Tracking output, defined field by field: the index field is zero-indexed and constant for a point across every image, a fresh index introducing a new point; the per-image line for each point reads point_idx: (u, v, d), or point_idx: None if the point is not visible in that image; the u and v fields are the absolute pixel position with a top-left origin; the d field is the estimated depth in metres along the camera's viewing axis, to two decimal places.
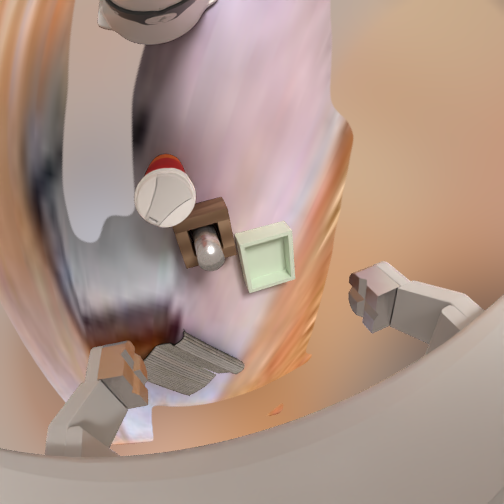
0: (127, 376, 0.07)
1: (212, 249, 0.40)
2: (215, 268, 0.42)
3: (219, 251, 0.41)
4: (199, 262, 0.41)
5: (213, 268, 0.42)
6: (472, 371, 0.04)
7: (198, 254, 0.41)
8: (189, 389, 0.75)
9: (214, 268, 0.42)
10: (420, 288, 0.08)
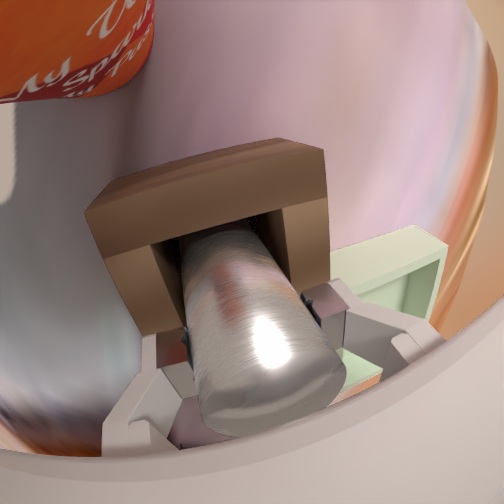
0: (190, 362, 0.07)
1: (293, 360, 0.06)
2: None
3: (330, 361, 0.06)
4: (210, 420, 0.06)
5: None
6: (472, 371, 0.04)
7: (201, 380, 0.06)
8: None
9: None
10: (372, 311, 0.07)
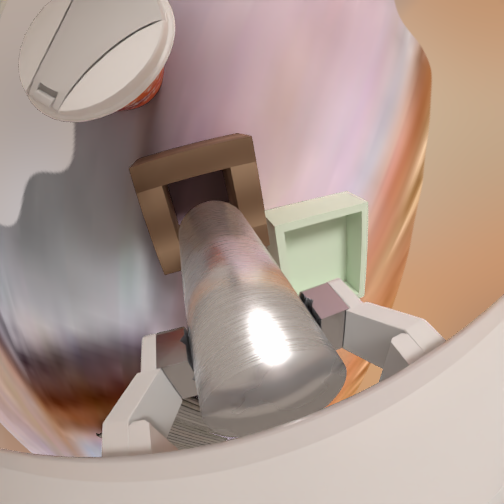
0: (190, 362, 0.07)
1: (292, 360, 0.06)
2: None
3: (330, 361, 0.06)
4: (210, 419, 0.06)
5: None
6: (472, 371, 0.04)
7: (201, 379, 0.06)
8: None
9: None
10: (372, 311, 0.07)
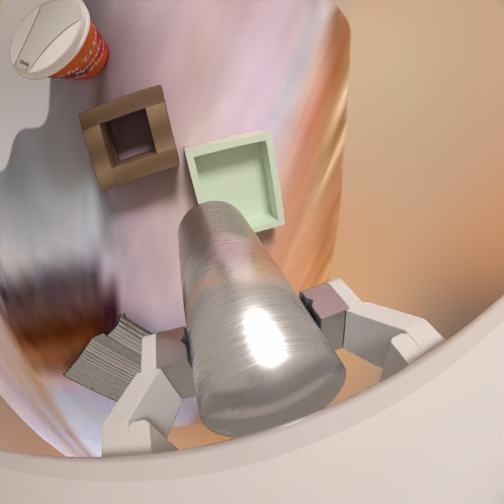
0: (190, 362, 0.07)
1: (291, 361, 0.06)
2: None
3: (329, 362, 0.06)
4: (208, 420, 0.06)
5: None
6: (472, 371, 0.04)
7: (200, 380, 0.06)
8: None
9: None
10: (372, 311, 0.07)
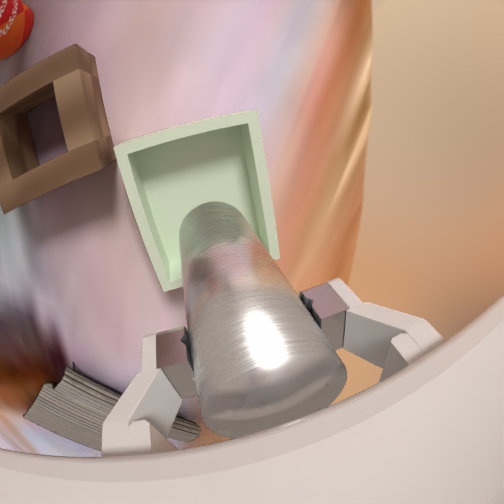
0: (190, 362, 0.07)
1: (293, 362, 0.06)
2: None
3: (331, 363, 0.06)
4: (210, 421, 0.06)
5: None
6: (472, 371, 0.04)
7: (202, 381, 0.06)
8: None
9: None
10: (372, 311, 0.07)
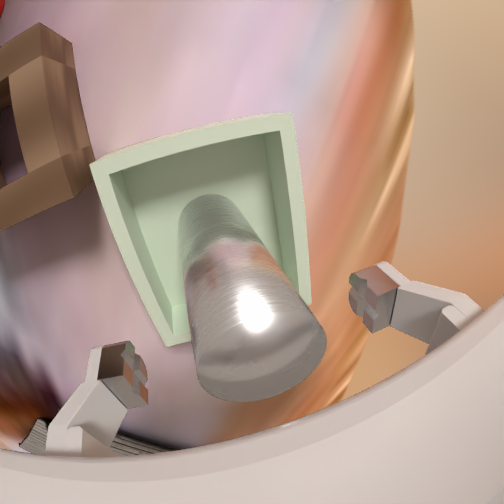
0: (127, 376, 0.07)
1: (275, 320, 0.07)
2: (278, 390, 0.09)
3: (310, 324, 0.07)
4: (204, 379, 0.07)
5: (269, 391, 0.09)
6: (472, 371, 0.04)
7: (197, 341, 0.08)
8: None
9: (274, 391, 0.09)
10: (420, 288, 0.08)
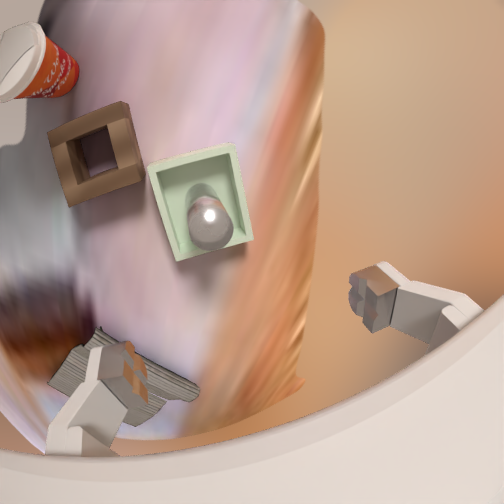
0: (127, 376, 0.07)
1: (212, 211, 0.24)
2: (218, 246, 0.25)
3: (224, 215, 0.24)
4: (191, 234, 0.24)
5: (214, 246, 0.25)
6: (472, 371, 0.04)
7: (189, 221, 0.24)
8: (132, 418, 0.49)
9: (216, 246, 0.25)
10: (420, 288, 0.08)
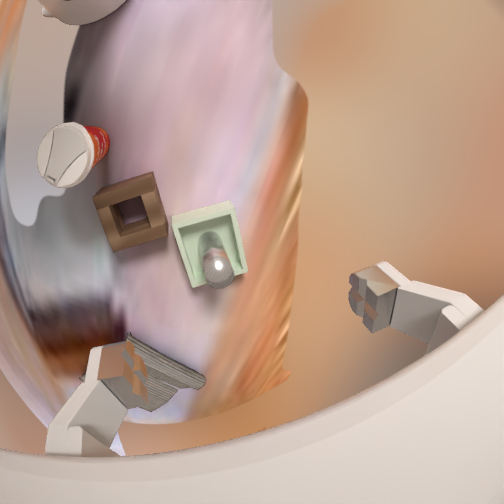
0: (127, 376, 0.07)
1: (220, 265, 0.37)
2: (224, 285, 0.39)
3: (228, 266, 0.38)
4: (207, 279, 0.38)
5: (222, 285, 0.39)
6: (472, 371, 0.04)
7: (205, 270, 0.38)
8: (149, 404, 0.63)
9: (223, 285, 0.39)
10: (420, 288, 0.08)
